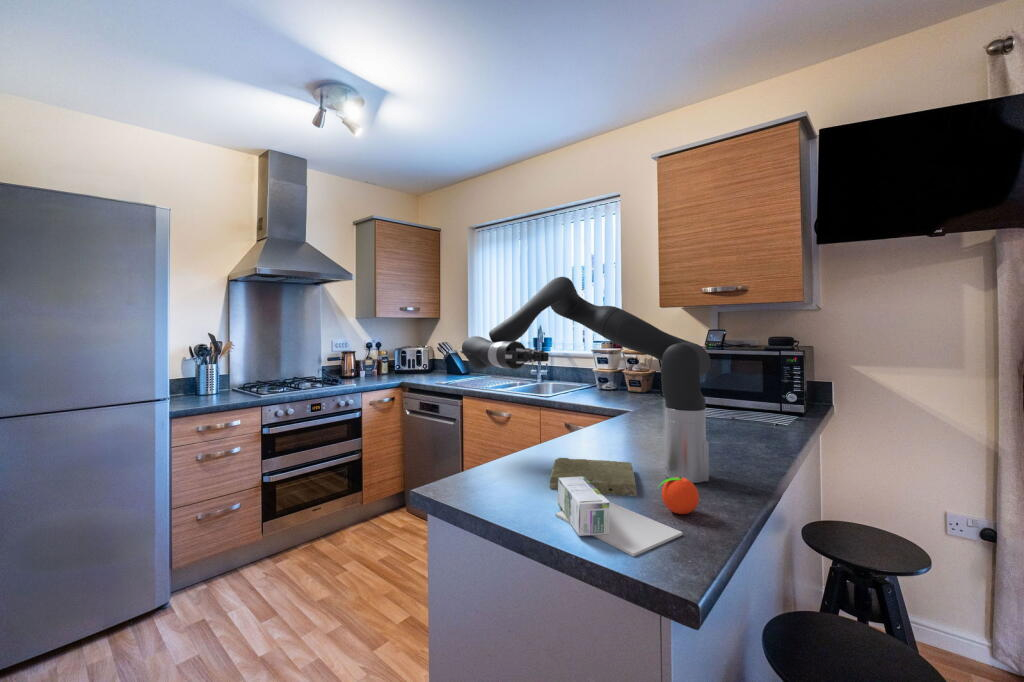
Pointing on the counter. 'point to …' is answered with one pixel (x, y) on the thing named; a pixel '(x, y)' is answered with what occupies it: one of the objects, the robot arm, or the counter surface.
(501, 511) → the counter surface
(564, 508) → the syrup box
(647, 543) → the white rectangular slab
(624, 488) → the decorative tile
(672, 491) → the clementine
